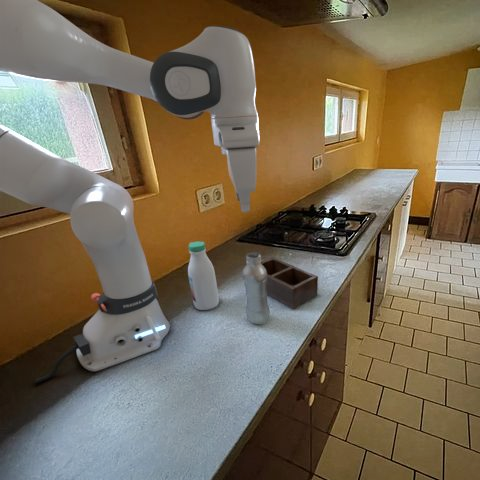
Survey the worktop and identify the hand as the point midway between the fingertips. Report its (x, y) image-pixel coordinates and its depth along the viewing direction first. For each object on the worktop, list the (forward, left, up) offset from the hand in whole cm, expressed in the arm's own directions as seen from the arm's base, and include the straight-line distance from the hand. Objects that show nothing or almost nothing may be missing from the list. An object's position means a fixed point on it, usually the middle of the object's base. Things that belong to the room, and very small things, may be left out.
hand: (243, 205), depth 65 cm
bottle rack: (+20, +10, -34) cm, 41 cm away
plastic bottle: (+4, +3, -34) cm, 35 cm away
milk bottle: (-2, +21, -34) cm, 40 cm away
